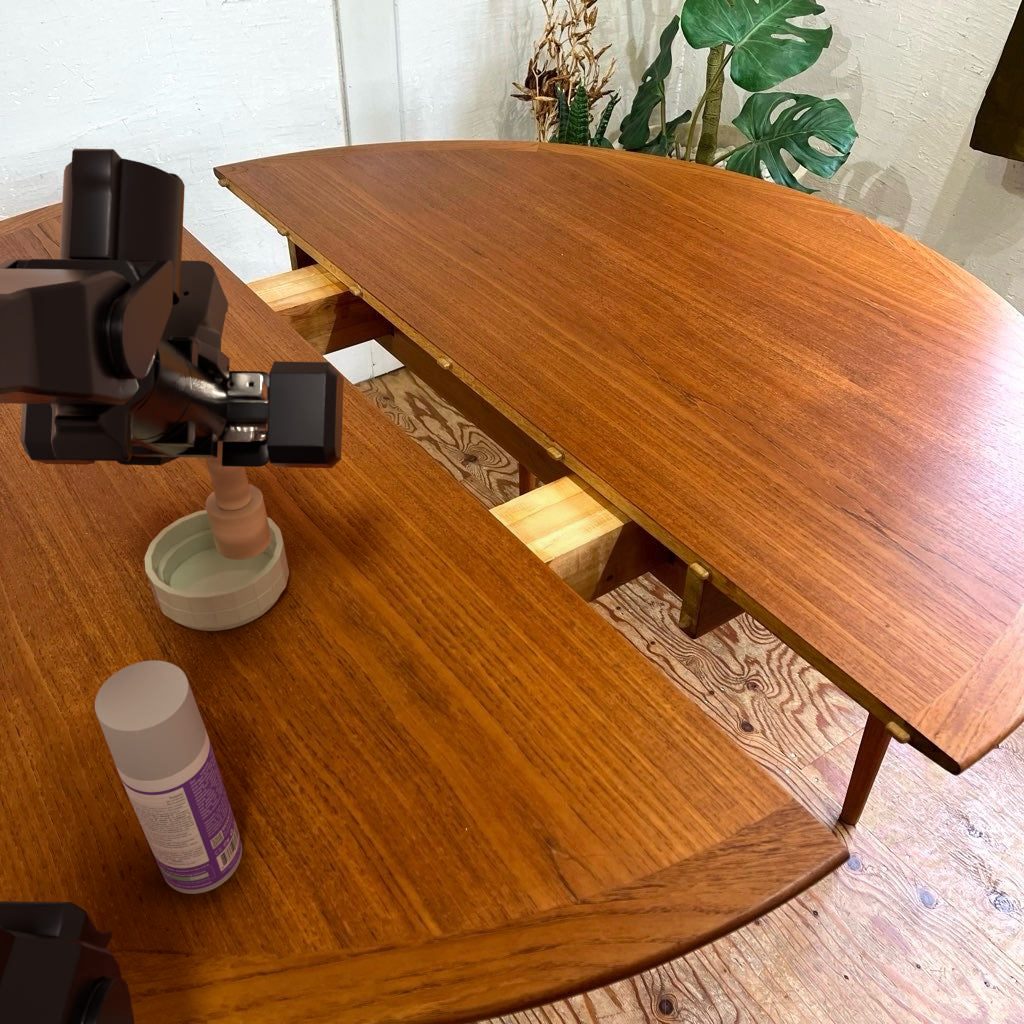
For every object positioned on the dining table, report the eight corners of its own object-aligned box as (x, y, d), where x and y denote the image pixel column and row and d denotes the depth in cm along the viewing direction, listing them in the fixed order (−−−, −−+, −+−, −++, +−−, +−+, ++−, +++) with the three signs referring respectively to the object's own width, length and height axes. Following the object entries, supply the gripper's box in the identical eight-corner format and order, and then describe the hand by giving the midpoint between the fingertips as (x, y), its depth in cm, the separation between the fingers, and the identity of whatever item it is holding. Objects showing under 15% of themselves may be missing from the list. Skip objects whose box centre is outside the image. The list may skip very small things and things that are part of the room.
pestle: (280, 545, 71) (234, 313, 58) (230, 567, 69) (171, 332, 57) (256, 517, 73) (207, 288, 61) (207, 538, 71) (146, 306, 59)
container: (216, 807, 59) (161, 643, 50) (258, 857, 57) (209, 694, 47) (146, 856, 57) (74, 693, 47) (187, 910, 54) (120, 750, 45)
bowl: (249, 648, 69) (240, 610, 67) (130, 618, 72) (116, 579, 69) (312, 559, 77) (305, 521, 74) (201, 534, 79) (191, 496, 76)
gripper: (319, 241, 52) (365, 324, 67) (-27, 237, 52) (99, 321, 67) (312, 447, 51) (360, 482, 66) (-41, 441, 51) (90, 478, 66)
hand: (227, 436), depth 66 cm, fingers closed on pestle, 2 cm apart
